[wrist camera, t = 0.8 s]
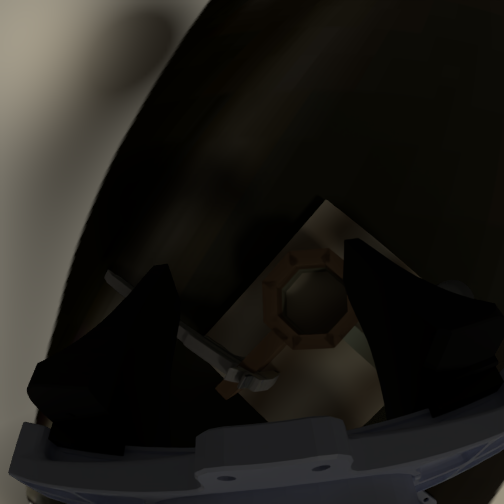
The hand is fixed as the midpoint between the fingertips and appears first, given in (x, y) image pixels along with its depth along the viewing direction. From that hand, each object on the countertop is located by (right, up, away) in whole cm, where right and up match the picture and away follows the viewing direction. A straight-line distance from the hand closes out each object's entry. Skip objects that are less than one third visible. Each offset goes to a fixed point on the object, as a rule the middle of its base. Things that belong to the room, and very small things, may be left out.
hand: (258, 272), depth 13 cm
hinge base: (+6, -6, +12) cm, 15 cm away
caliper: (-7, -6, +16) cm, 18 cm away
